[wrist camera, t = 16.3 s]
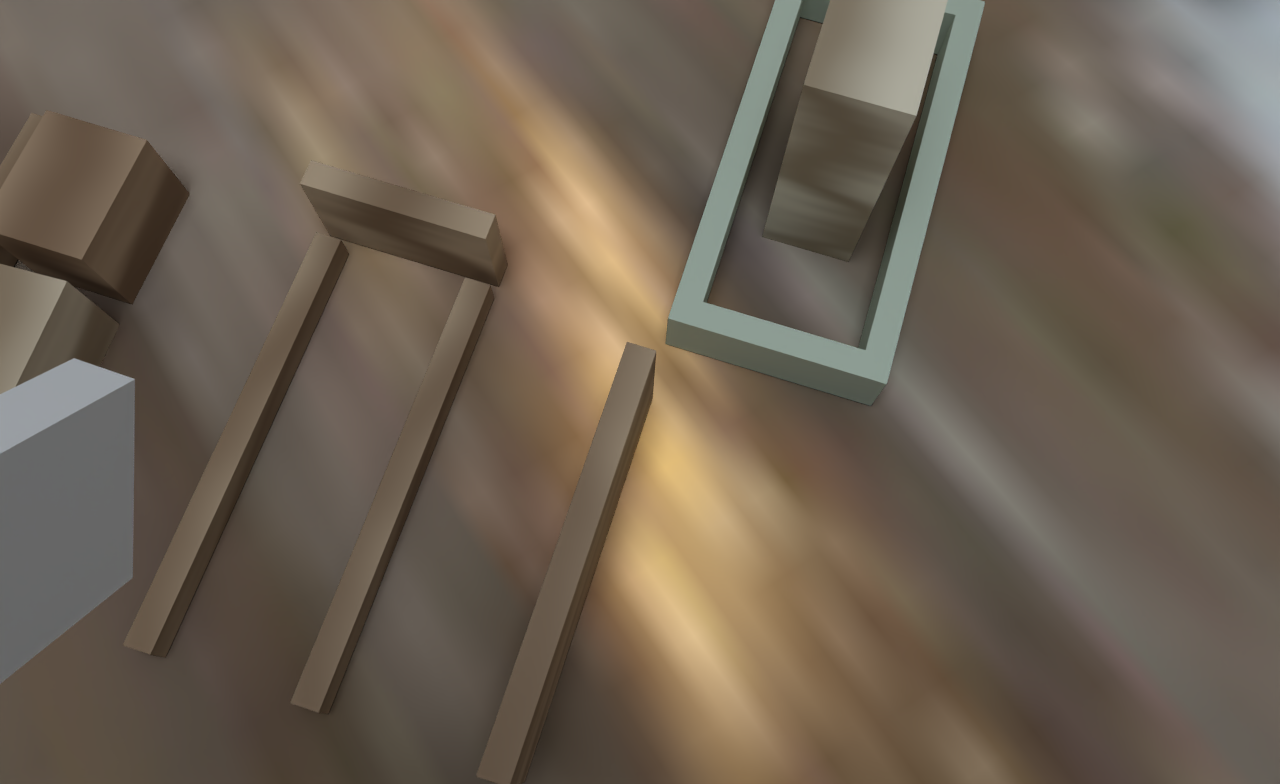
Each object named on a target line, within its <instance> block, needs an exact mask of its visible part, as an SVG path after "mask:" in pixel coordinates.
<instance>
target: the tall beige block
mask: <svg viewBox="0 0 1280 784" xmlns="http://www.w3.org/2000/svg"><path fill="white" fill-rule="evenodd" d="M947 2H948V0H830V3H829V6H828V9H827V12H826V15H825V18H824V22H823V25H822V28H821V31H820V34H819V37H818V41H817V44H816V47H815V50H814V53H813V56H812V60H811V63H810V66H809V69H808V72H807V75H806V79H805V82H804V85H803V89H802V92H801V96H800V100H799V103H798V107H797V111H796V114H795V118H794V122H793V125H792V129H791V133H790V136H789V140H788V144H787V147H786V151H785V155H784V158H783V162H782V166H781V169H780V173H779V177H778V180H777V184H776V188H775V192H774V195H773V199H772V203H771V206H770V210H769V214H768V217H767V221H766V225H765V228H764V232H763V236H762V237H765V238H768V239H771V240H775V241H778V242H782V243H785V244H789V245H792V246H795V247H799V248H802V249H806V250H809V251H813V252H816V253H820V254H823V255H826V256H830V257H833V258H837V259H840V260H844V261H847V262H849V259H850V257H851V255H852V253H853V251H854V249H855V247H856V244H857V242H858V240H859V238H860V236H861V234H862V232H863V229H864V227H865V225H866V223H867V221H868V219H869V217H870V214H871V212H872V210H873V208H874V206H875V204H876V202H877V199H878V197H879V195H880V193H881V191H882V189H883V187H884V184H885V182H886V180H887V178H888V176H889V174H890V172H891V169H892V167H893V165H894V163H895V161H896V159H897V157H898V154H899V152H900V150H901V148H902V146H903V144H904V142H905V139H906V137H907V135H908V133H909V131H910V129H911V127H912V124H913V122H914V120H915V118H916V116H917V112H918V108H919V105H920V101H921V97H922V94H923V90H924V86H925V83H926V79H927V75H928V72H929V68H930V64H931V61H932V57H933V53H934V49H935V46H936V42H937V38H938V35H939V31H940V27H941V24H942V20H943V16H944V13H945V9H946V5H947Z"/></svg>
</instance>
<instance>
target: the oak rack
mask: <svg viewBox="0 0 1280 784" xmlns="http://www.w3.org/2000/svg"><path fill="white" fill-rule="evenodd" d="M42 117H43V116H40V115H37V114H33V113H31V115H30V116H29V118H28V120H27V122H26V123H25V125H24V127H23V128H22V130H21V132H20V133H19V135H18V137H17V138H16V140H15V142H14V143H13V145H12V147H11V149H10V150H9V152H8V154H7V155H6V157H5V159H4V160H3V162H2V164H1V165H0V189H1V187H2V185H3V183H4V182H5V180H6V178H7V177H8V175H9V173H10V172H11V170H12V168H13V166H14V165H15V163H16V161H17V160H18V158H19V156H20V155H21V153H22V151H23V149H24V148H25V146H26V144H27V143H28V141H29V139H30V138H31V136H32V134H33V132H34V131H35V129H36V127H37V126H38V124H39V122H40V121H41V119H42ZM300 185H301V186H302V188H303V190H304V192H305V193H306V195H307V197H308V198H309V200H310V202H311V204H312V205H313V207H314V209H315V211H316V212H317V214H318V216H319V217H320V219H321V221H322V223H323V224H324V226H325V228H326V229H327V231H328V233H329V235H330V236H333V237H336V238H333V237H330V236H327V235H323V234H320V233H317V232H316V234H315V237H314V239H313V241H312V243H311V245H310V247H309V249H308V251H307V254H306V256H305V258H304V260H303V262H302V264H301V266H300V268H299V271H298V273H297V275H296V277H295V279H294V281H293V283H292V286H291V288H290V290H289V292H288V294H287V296H286V298H285V300H284V303H283V305H282V307H281V309H280V311H279V313H278V315H277V317H276V320H275V322H274V324H273V326H272V328H271V330H270V332H269V335H268V337H267V339H266V341H265V343H264V345H263V347H262V349H261V352H260V354H259V356H258V358H257V360H256V362H255V364H254V366H253V369H252V371H251V373H250V375H249V377H248V379H247V381H246V384H245V386H244V388H243V390H242V392H241V394H240V396H239V398H238V401H237V403H236V405H235V407H234V409H233V411H232V413H231V415H230V418H229V420H228V422H227V424H226V426H225V428H224V430H223V433H222V435H221V437H220V439H219V441H218V443H217V445H216V447H215V450H214V452H213V454H212V456H211V458H210V460H209V462H208V464H207V467H206V469H205V471H204V473H203V475H202V477H201V479H200V482H199V484H198V486H197V488H196V490H195V492H194V494H193V496H192V499H191V501H190V503H189V505H188V507H187V509H186V511H185V513H184V516H183V518H182V520H181V522H180V524H179V526H178V528H177V531H176V533H175V535H174V537H173V539H172V541H171V543H170V545H169V548H168V550H167V552H166V554H165V556H164V558H163V560H162V562H161V565H160V567H159V569H158V571H157V573H156V575H155V577H154V580H153V582H152V584H151V586H150V588H149V590H148V592H147V594H146V597H145V599H144V601H143V603H142V605H141V607H140V609H139V611H138V614H137V616H136V618H135V620H134V622H133V624H132V626H131V629H130V631H129V633H128V635H127V637H126V639H125V641H124V643H123V646H126V647H129V648H132V649H135V650H138V651H141V652H144V653H147V654H149V655H154V656H160V657H166V655H167V653H168V651H169V649H170V646H171V644H172V642H173V640H174V638H175V635H176V633H177V631H178V629H179V627H180V624H181V622H182V620H183V618H184V616H185V613H186V611H187V609H188V607H189V605H190V602H191V600H192V598H193V596H194V594H195V591H196V589H197V587H198V585H199V583H200V580H201V578H202V576H203V574H204V572H205V569H206V567H207V565H208V563H209V561H210V558H211V556H212V554H213V552H214V550H215V547H216V545H217V543H218V541H219V539H220V536H221V534H222V532H223V530H224V528H225V525H226V523H227V521H228V519H229V517H230V514H231V512H232V510H233V508H234V506H235V503H236V501H237V499H238V497H239V495H240V492H241V490H242V488H243V486H244V484H245V481H246V479H247V477H248V475H249V473H250V470H251V468H252V466H253V464H254V462H255V459H256V457H257V455H258V453H259V451H260V449H261V446H262V444H263V442H264V440H265V438H266V435H267V433H268V431H269V429H270V427H271V424H272V422H273V420H274V418H275V416H276V413H277V411H278V409H279V407H280V405H281V402H282V400H283V398H284V396H285V394H286V391H287V389H288V387H289V385H290V383H291V380H292V378H293V376H294V374H295V372H296V369H297V367H298V365H299V363H300V361H301V358H302V356H303V354H304V352H305V350H306V347H307V345H308V343H309V341H310V339H311V336H312V334H313V332H314V330H315V328H316V325H317V323H318V321H319V319H320V317H321V314H322V312H323V310H324V308H325V306H326V303H327V301H328V299H329V297H330V295H331V292H332V290H333V288H334V286H335V284H336V281H337V279H338V277H339V275H340V273H341V270H342V268H343V266H344V264H345V262H346V259H347V257H348V255H349V253H348V251H347V250H346V248H345V246H344V244H343V243H342V241H341V240H340V239H343V240H346V241H349V242H353V243H356V244H359V245H362V246H366V247H369V248H372V249H376V250H379V251H382V252H386V253H389V254H392V255H396V256H399V257H402V258H405V259H409V260H412V261H415V262H419V263H422V264H425V265H429V266H432V267H435V268H438V269H442V270H445V271H448V272H452V273H455V274H458V275H462V276H465V279H464V281H463V284H462V286H461V289H460V291H459V294H458V296H457V298H456V301H455V303H454V306H453V308H452V311H451V313H450V315H449V318H448V320H447V323H446V325H445V328H444V330H443V332H442V335H441V337H440V340H439V342H438V345H437V347H436V350H435V352H434V354H433V357H432V359H431V362H430V364H429V367H428V369H427V371H426V374H425V376H424V379H423V381H422V384H421V386H420V388H419V391H418V393H417V396H416V398H415V401H414V403H413V405H412V408H411V410H410V413H409V415H408V418H407V420H406V422H405V425H404V427H403V430H402V432H401V435H400V437H399V439H398V442H397V444H396V447H395V449H394V452H393V454H392V456H391V459H390V461H389V464H388V466H387V469H386V471H385V473H384V476H383V478H382V481H381V483H380V486H379V488H378V491H377V493H376V495H375V498H374V500H373V503H372V505H371V508H370V510H369V512H368V515H367V517H366V520H365V522H364V525H363V527H362V529H361V532H360V534H359V537H358V539H357V542H356V544H355V546H354V549H353V551H352V554H351V556H350V559H349V561H348V563H347V566H346V568H345V571H344V573H343V576H342V578H341V580H340V583H339V585H338V588H337V590H336V593H335V595H334V597H333V600H332V602H331V605H330V607H329V610H328V612H327V614H326V617H325V619H324V622H323V624H322V627H321V629H320V632H319V634H318V636H317V639H316V641H315V644H314V646H313V649H312V651H311V653H310V656H309V658H308V661H307V663H306V666H305V668H304V670H303V673H302V675H301V678H300V680H299V683H298V685H297V687H296V690H295V692H294V695H293V697H292V700H291V702H290V703H292V704H294V705H297V706H300V707H303V708H306V709H309V710H312V711H315V712H318V713H326V714H329V711H330V709H331V706H332V704H333V701H334V699H335V696H336V694H337V691H338V689H339V686H340V684H341V681H342V679H343V676H344V674H345V671H346V669H347V666H348V664H349V661H350V658H351V656H352V653H353V651H354V648H355V646H356V643H357V641H358V638H359V636H360V633H361V631H362V628H363V626H364V623H365V621H366V618H367V616H368V613H369V611H370V608H371V606H372V603H373V601H374V598H375V596H376V593H377V591H378V588H379V586H380V583H381V581H382V578H383V576H384V573H385V571H386V568H387V566H388V563H389V561H390V558H391V556H392V553H393V551H394V548H395V546H396V543H397V541H398V538H399V536H400V533H401V531H402V528H403V526H404V523H405V521H406V518H407V516H408V513H409V510H410V508H411V505H412V503H413V500H414V498H415V495H416V493H417V490H418V488H419V485H420V483H421V480H422V478H423V475H424V473H425V470H426V468H427V465H428V463H429V460H430V458H431V455H432V453H433V450H434V448H435V445H436V443H437V440H438V438H439V435H440V433H441V430H442V428H443V425H444V423H445V420H446V418H447V415H448V413H449V410H450V408H451V405H452V403H453V400H454V398H455V395H456V393H457V390H458V388H459V385H460V383H461V380H462V378H463V375H464V373H465V370H466V367H467V365H468V362H469V360H470V357H471V355H472V352H473V350H474V347H475V345H476V342H477V340H478V337H479V335H480V332H481V330H482V327H483V325H484V322H485V320H486V317H487V315H488V312H489V310H490V307H491V305H492V302H493V300H494V296H493V292H492V289H491V286H490V285H489V284H491V285H495V286H498V287H499V285H500V282H501V280H502V277H503V275H504V272H505V270H506V267H507V265H508V264H507V260H506V256H505V252H504V247H503V243H502V239H501V235H500V231H499V227H498V223H497V219H496V215H495V214H491V213H488V212H485V211H481V210H478V209H474V208H471V207H468V206H464V205H461V204H458V203H454V202H451V201H447V200H444V199H441V198H437V197H434V196H431V195H427V194H424V193H420V192H417V191H414V190H410V189H407V188H404V187H400V186H397V185H393V184H390V183H387V182H383V181H380V180H377V179H373V178H370V177H366V176H363V175H360V174H356V173H353V172H350V171H346V170H343V169H339V168H336V167H333V166H329V165H326V164H323V163H319V162H316V161H312V160H311V162H310V164H309V166H308V168H307V170H306V172H305V174H304V176H303V178H302V180H301V182H300ZM337 238H339V239H337ZM17 260H18V259H17V258H16V257H15V256H13V255H12V254H11V253H10V252H8V251H7V250H6V249H5V248H3V247H2V246H1V245H0V264H3V265H7V266H11V267H14V266H15V264H16V262H17ZM466 277H468V278H466ZM469 278H472V279H475V280H478V281H475V280H472V279H469ZM479 281H481V282H479ZM482 282H485V283H488V284H485V283H482ZM655 360H656V351H655V350H652V349H649V348H646V347H642V346H639V345H636V344H632V343H629V342H627V344H626V347H625V349H624V352H623V355H622V358H621V361H620V364H619V367H618V369H617V372H616V375H615V378H614V381H613V384H612V387H611V390H610V392H609V395H608V398H607V401H606V404H605V407H604V410H603V413H602V415H601V418H600V421H599V424H598V427H597V430H596V433H595V436H594V438H593V441H592V444H591V447H590V450H589V453H588V456H587V458H586V461H585V464H584V467H583V470H582V473H581V476H580V479H579V481H578V484H577V487H576V490H575V493H574V496H573V499H572V502H571V504H570V507H569V510H568V513H567V516H566V519H565V522H564V525H563V527H562V530H561V533H560V536H559V539H558V542H557V545H556V547H555V550H554V553H553V556H552V559H551V562H550V565H549V568H548V570H547V573H546V576H545V579H544V582H543V585H542V588H541V591H540V593H539V596H538V599H537V602H536V605H535V608H534V611H533V614H532V616H531V619H530V622H529V625H528V628H527V631H526V634H525V636H524V639H523V642H522V645H521V648H520V651H519V654H518V657H517V659H516V662H515V665H514V668H513V671H512V674H511V677H510V680H509V682H508V685H507V688H506V691H505V694H504V697H503V700H502V702H501V705H500V708H499V711H498V714H497V717H496V720H495V723H494V725H493V728H492V731H491V734H490V737H489V740H488V743H487V746H486V748H485V751H484V754H483V757H482V760H481V763H480V766H479V769H478V771H477V774H476V777H479V778H482V779H485V780H488V781H491V782H494V783H496V784H520V783H522V782H525V779H526V776H527V773H528V770H529V767H530V764H531V761H532V758H533V755H534V752H535V749H536V746H537V743H538V740H539V737H540V734H541V731H542V728H543V725H544V722H545V719H546V716H547V713H548V710H549V707H550V704H551V701H552V698H553V695H554V692H555V689H556V686H557V683H558V680H559V677H560V674H561V671H562V668H563V665H564V662H565V659H566V656H567V653H568V650H569V647H570V644H571V641H572V638H573V635H574V632H575V629H576V626H577V623H578V620H579V617H580V614H581V611H582V608H583V605H584V602H585V599H586V596H587V593H588V590H589V587H590V584H591V581H592V578H593V575H594V572H595V569H596V566H597V563H598V560H599V557H600V554H601V551H602V548H603V545H604V543H605V540H606V537H607V534H608V531H609V528H610V525H611V522H612V519H613V516H614V513H615V510H616V507H617V504H618V501H619V498H620V495H621V492H622V489H623V486H624V483H625V480H626V477H627V474H628V471H629V468H630V465H631V462H632V459H633V456H634V453H635V450H636V447H637V444H638V441H639V438H640V435H641V432H642V429H643V426H644V423H645V420H646V417H647V414H648V411H649V408H650V405H651V402H652V398H653V386H654V373H655Z"/></svg>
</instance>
